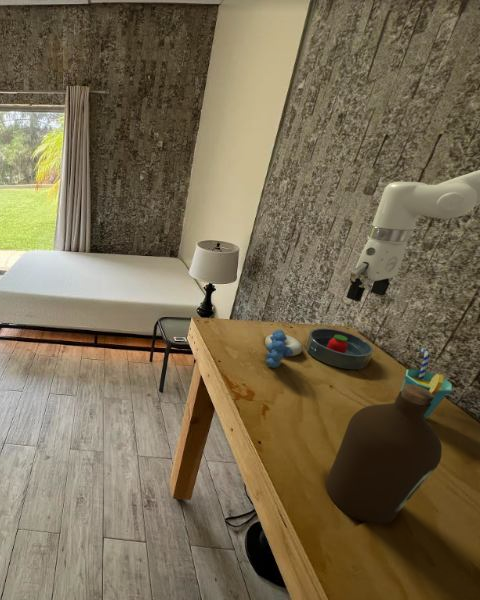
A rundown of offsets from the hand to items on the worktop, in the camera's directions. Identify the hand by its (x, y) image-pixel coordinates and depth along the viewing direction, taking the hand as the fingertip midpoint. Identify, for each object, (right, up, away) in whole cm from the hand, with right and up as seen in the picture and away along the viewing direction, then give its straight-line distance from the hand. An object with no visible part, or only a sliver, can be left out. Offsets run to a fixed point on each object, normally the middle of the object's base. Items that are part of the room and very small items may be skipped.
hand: (365, 296), depth 86 cm
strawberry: (-1, -17, +10) cm, 20 cm away
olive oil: (-28, -37, -30) cm, 55 cm away
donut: (-14, -17, +13) cm, 26 cm away
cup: (0, -28, -11) cm, 30 cm away
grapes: (-22, -21, +5) cm, 30 cm away
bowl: (0, -18, +10) cm, 20 cm away
